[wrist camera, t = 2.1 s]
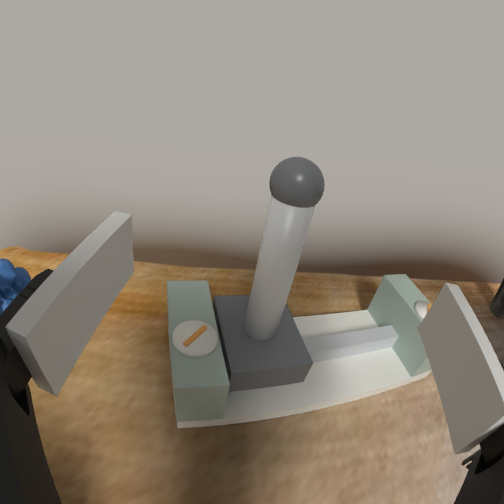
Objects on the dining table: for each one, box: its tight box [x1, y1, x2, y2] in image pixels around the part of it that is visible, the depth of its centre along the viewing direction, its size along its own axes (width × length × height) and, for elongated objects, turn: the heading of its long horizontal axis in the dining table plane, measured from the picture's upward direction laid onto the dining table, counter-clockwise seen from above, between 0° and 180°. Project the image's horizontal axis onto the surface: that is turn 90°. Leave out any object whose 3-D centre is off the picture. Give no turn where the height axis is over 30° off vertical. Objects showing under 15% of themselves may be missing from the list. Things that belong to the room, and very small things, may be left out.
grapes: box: [0, 259, 31, 315], centre depth 22 cm, size 12×7×12 cm, turn 6°
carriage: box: [213, 157, 324, 392], centre depth 24 cm, size 7×9×18 cm
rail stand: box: [167, 274, 433, 428], centre depth 30 cm, size 30×12×8 cm, turn 103°
